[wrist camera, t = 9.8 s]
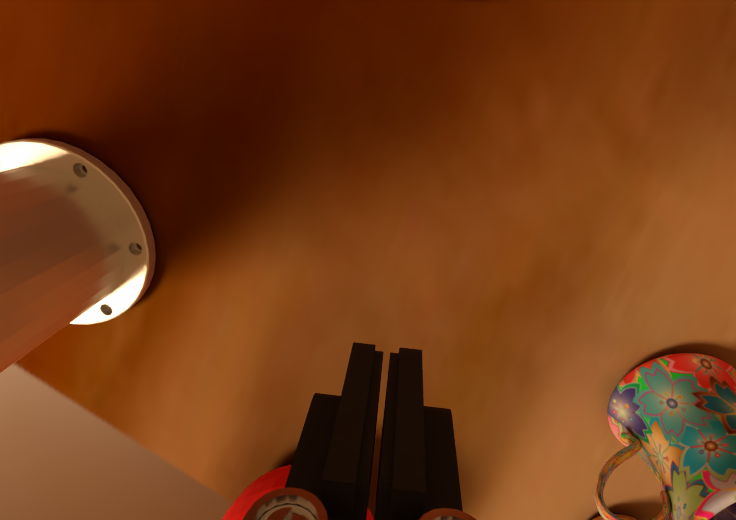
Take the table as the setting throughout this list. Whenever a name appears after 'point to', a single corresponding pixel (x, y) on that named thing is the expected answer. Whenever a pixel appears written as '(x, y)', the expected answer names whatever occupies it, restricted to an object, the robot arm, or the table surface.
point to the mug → (679, 434)
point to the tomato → (262, 493)
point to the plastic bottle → (626, 518)
